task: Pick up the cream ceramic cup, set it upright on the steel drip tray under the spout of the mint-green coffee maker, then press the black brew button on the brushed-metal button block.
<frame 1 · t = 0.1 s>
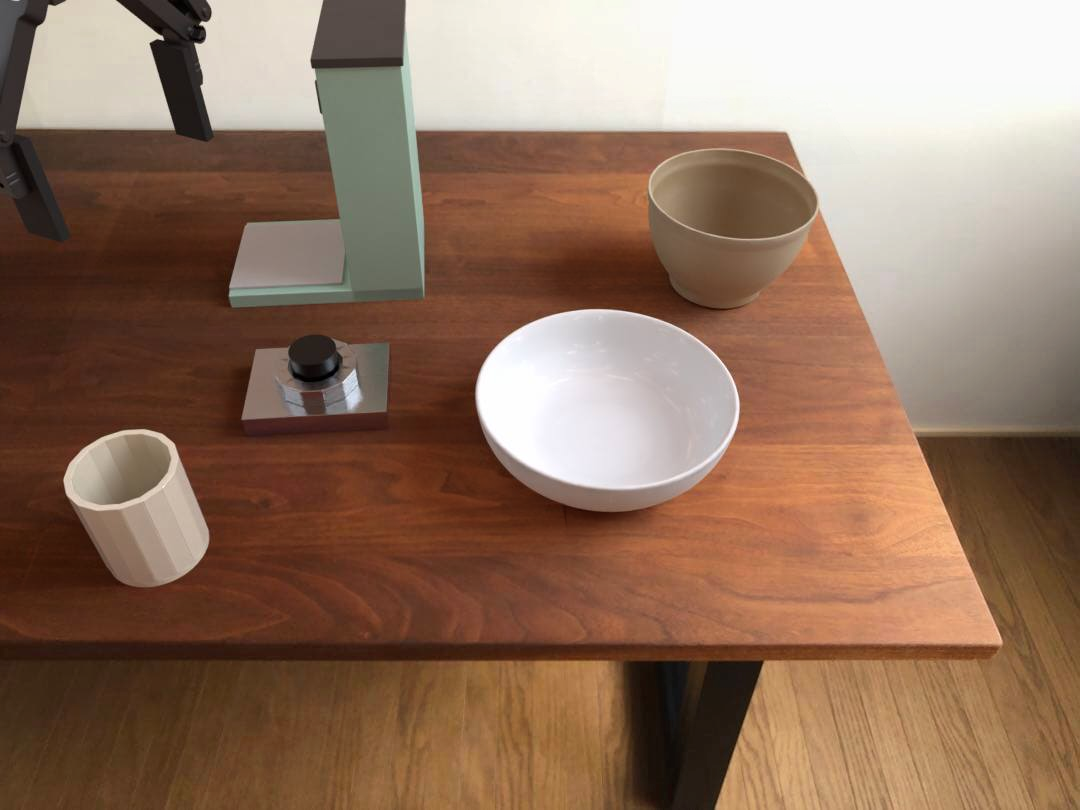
hand: (128, 182, 59), 24 cm above the table, tool pointing down, fingers open, 13 cm apart
coffee maker: (338, 265, 94), on the table
serving bowl: (601, 448, 76), on the table
cup: (159, 546, 68), on the table
button block: (322, 397, 80), on the table
planter bowl: (715, 284, 92), on the table
brew button: (314, 358, 76), point 5 cm above the table, slide at 0.1 cm
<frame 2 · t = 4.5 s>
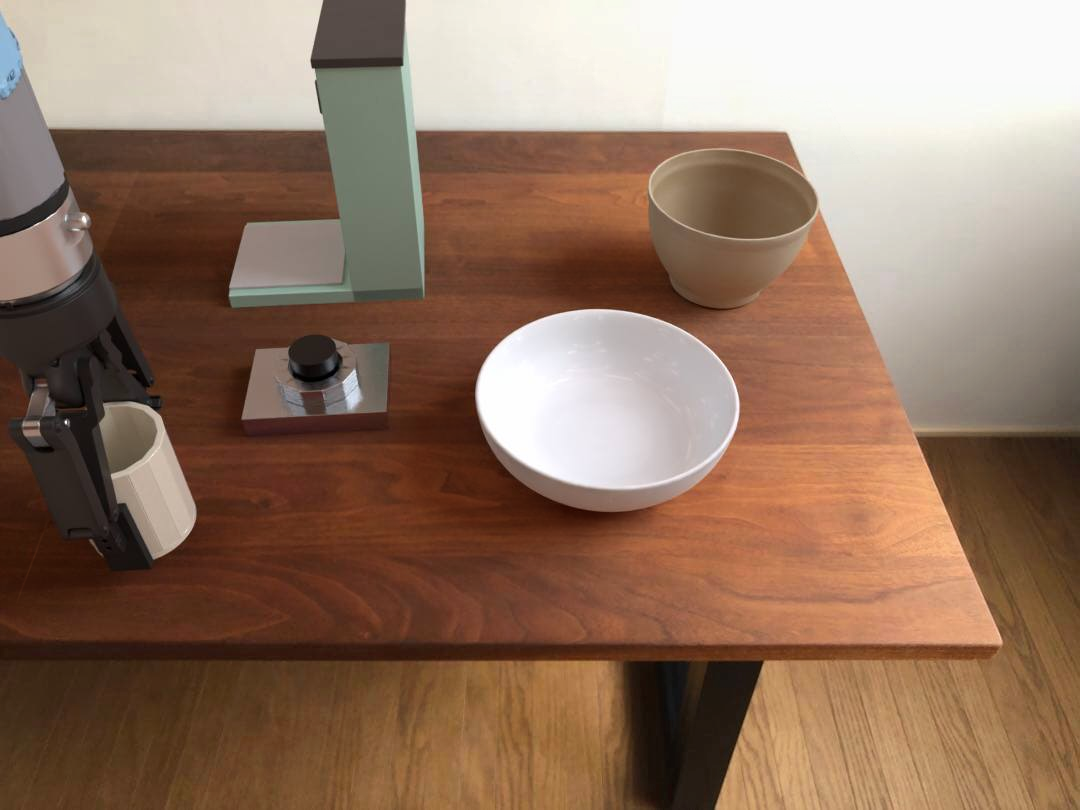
hand: (145, 519, 66), 3 cm above the table, tool pointing down, fingers closed on cup, 7 cm apart
cup: (144, 522, 66), point 3 cm above the table, touching gripper
everything else where it was.
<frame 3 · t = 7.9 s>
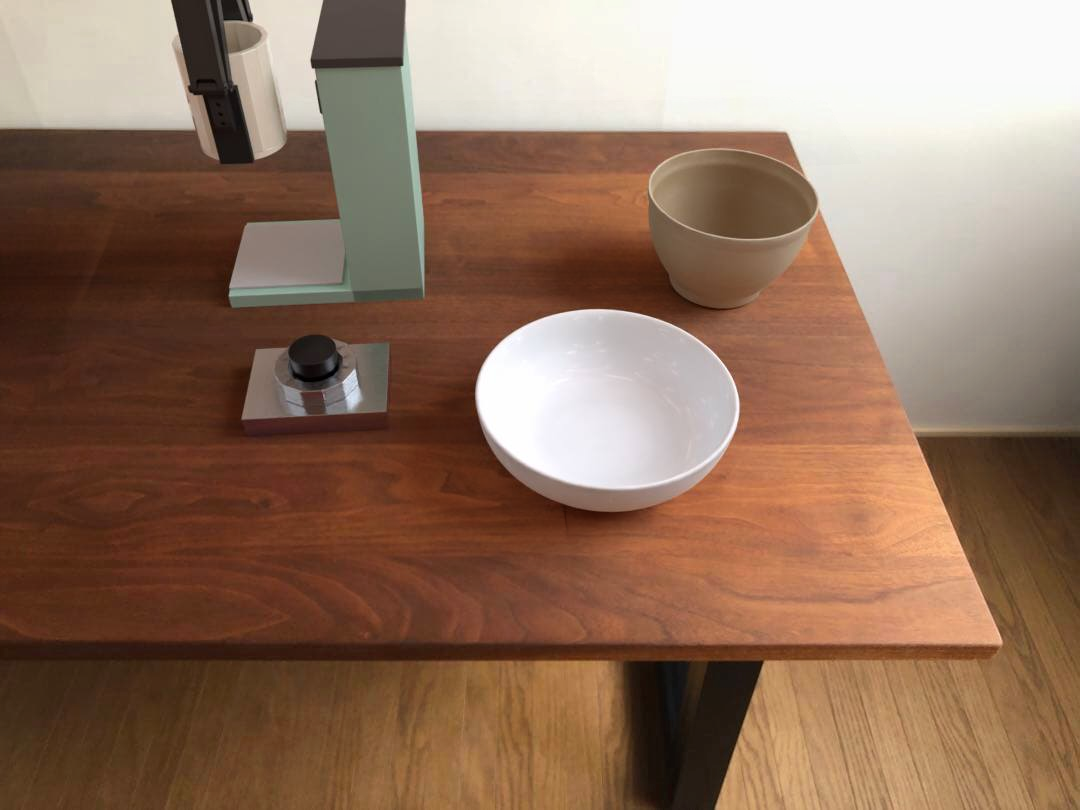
hand: (244, 137, 78), 17 cm above the table, tool pointing down, fingers closed on cup, 7 cm apart
cup: (244, 140, 78), point 17 cm above the table, touching gripper
everything else where it was.
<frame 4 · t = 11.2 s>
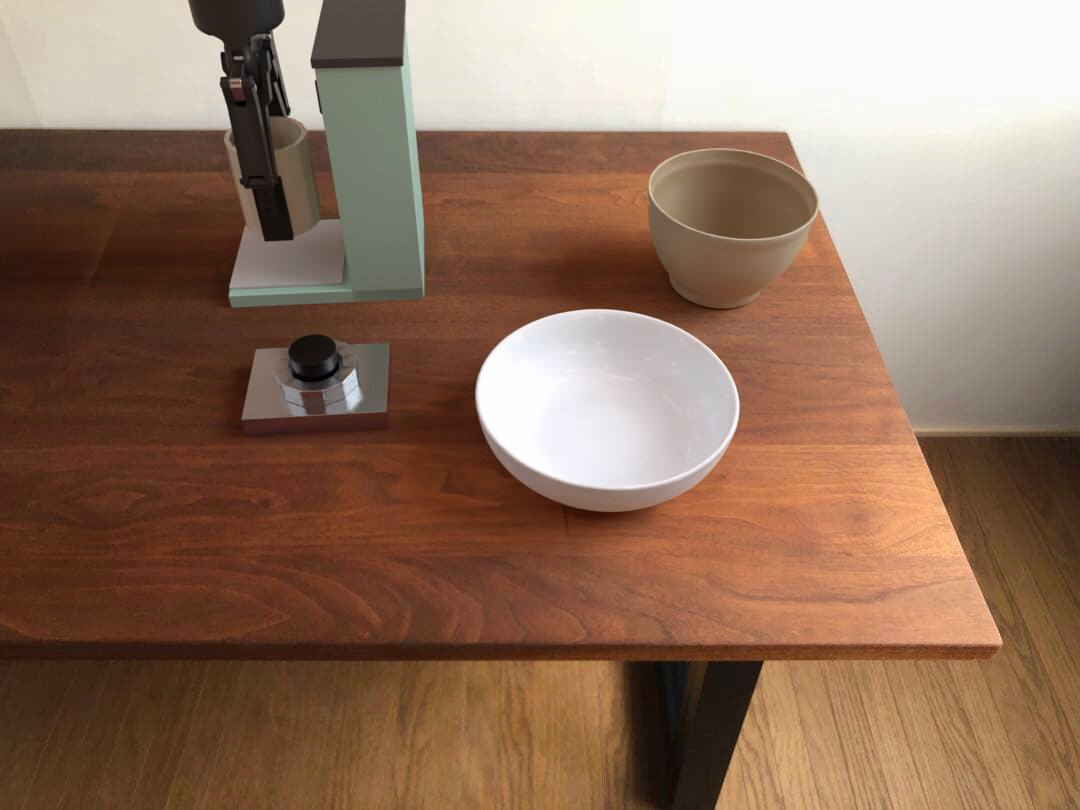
hand: (284, 215, 89), 6 cm above the table, tool pointing down, fingers closed on cup, 7 cm apart
cup: (283, 217, 89), point 6 cm above the table, touching gripper
everything else where it was.
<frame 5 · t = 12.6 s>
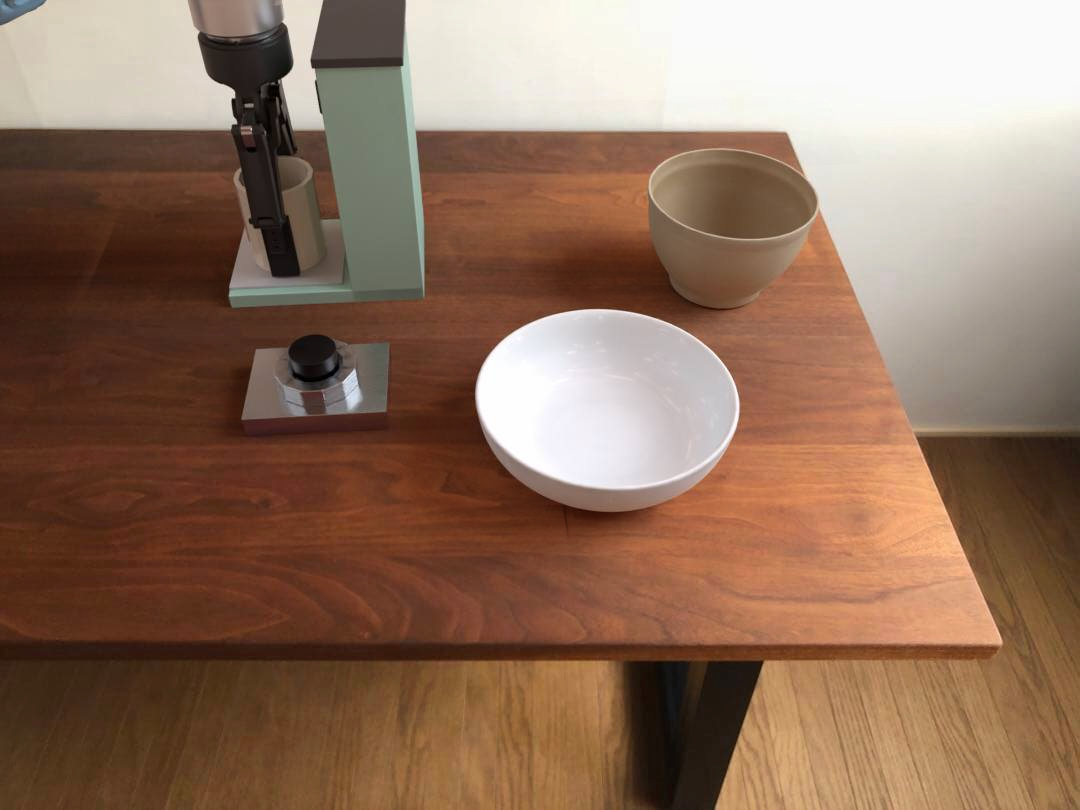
hand: (290, 250, 92), 2 cm above the table, tool pointing down, fingers closed on cup, 7 cm apart
cup: (290, 252, 92), point 2 cm above the table, touching gripper
everything else where it was.
when the fingers open (3 cm above the table, at t = 17.8 s): cup stays where it is, resting on coffee maker.
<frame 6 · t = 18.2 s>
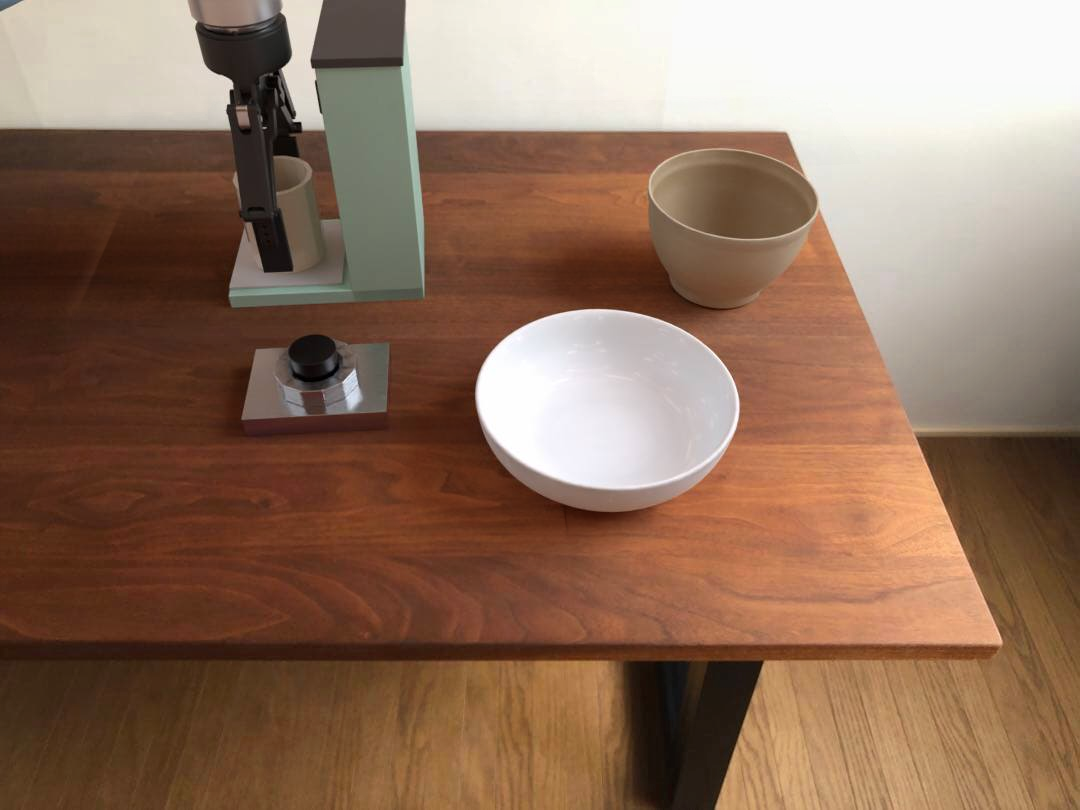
hand: (286, 230, 90), 4 cm above the table, tool pointing down, fingers open, 13 cm apart
cup: (290, 252, 92), point 2 cm above the table, touching coffee maker
everything else where it was.
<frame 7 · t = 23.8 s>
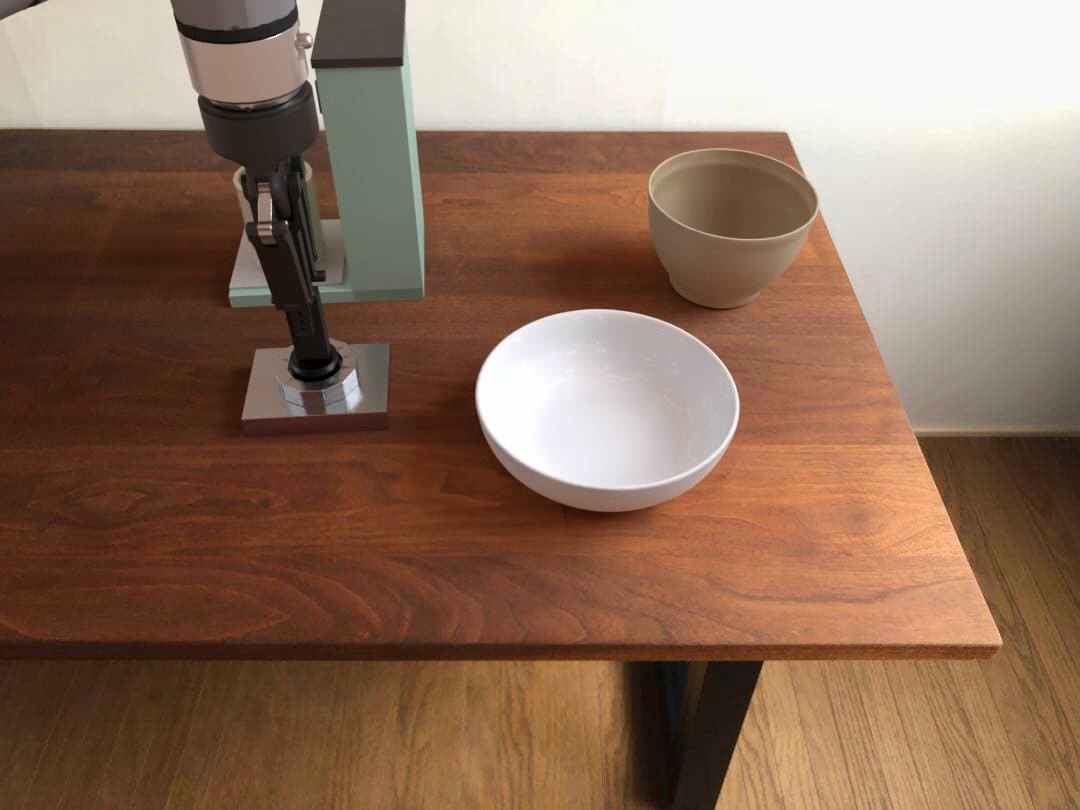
hand: (313, 353, 76), 5 cm above the table, tool pointing down, fingers closed
brew button: (315, 364, 77), point 4 cm above the table, slide at -0.6 cm, touching gripper
everything else where it was.
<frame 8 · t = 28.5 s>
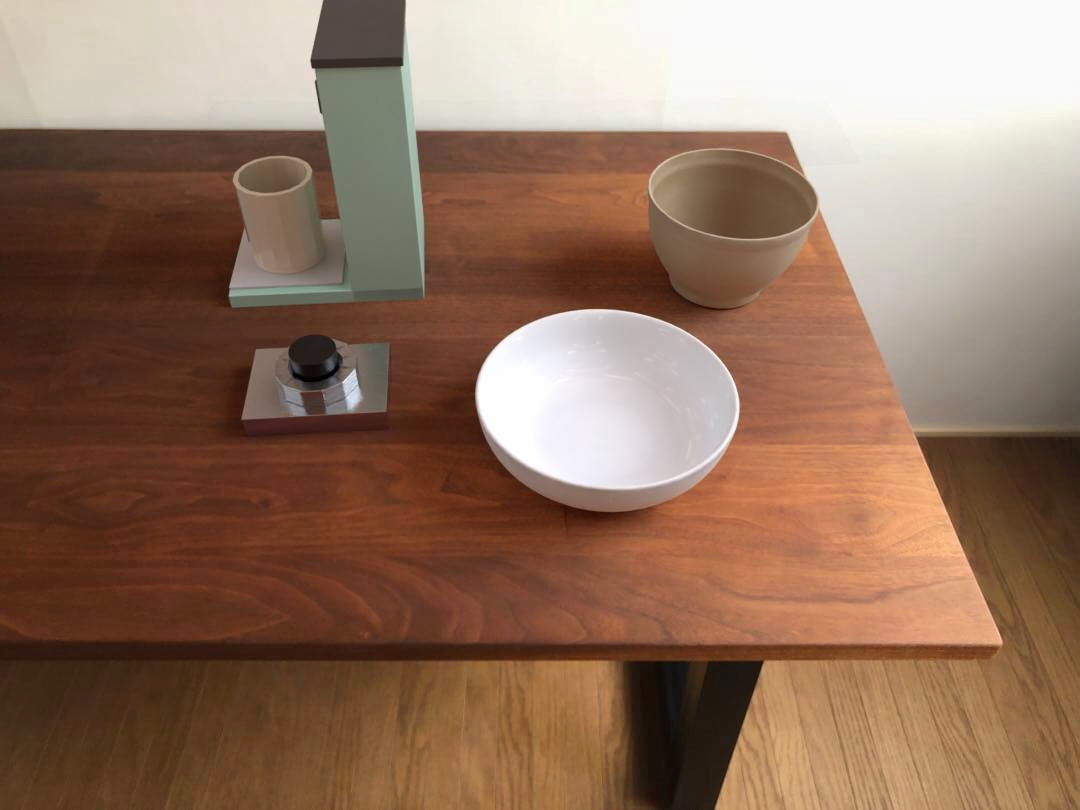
brew button: (314, 358, 76), point 5 cm above the table, slide at 0.1 cm
everything else where it was.
at the end: cup 0.2 cm from the target spot on the coffee maker, point 1.8 cm above the coffee maker's base; cup tilted 0°; brew button pushed in 1.0 cm at the most during the clip, back to where it started at the end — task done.
